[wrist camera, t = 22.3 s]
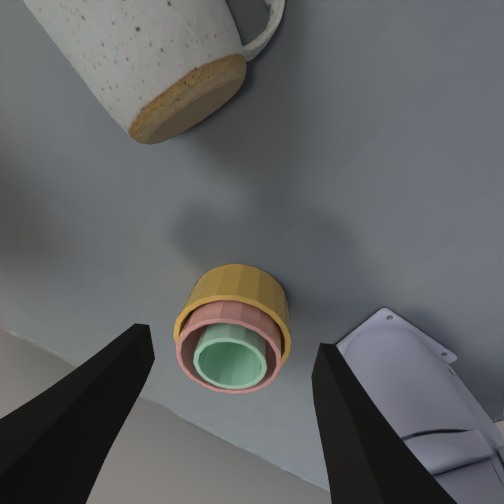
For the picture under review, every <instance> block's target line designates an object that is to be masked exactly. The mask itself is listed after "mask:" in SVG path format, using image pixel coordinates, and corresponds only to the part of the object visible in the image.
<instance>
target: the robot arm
mask: <svg viewBox="0 0 504 504" xmlns="http://www.w3.org/2000/svg"><path fill="white" fill-rule="evenodd" d="M390 315H391V316H390ZM387 316H389V317H387ZM456 359H457V356H456V355H455V354H454V353H453V352H451V351H450V350H448V349H447V348H445V347H444V346H443V345H441V344H440V343H438V342H437V341H435V340H434V339H432V338H431V337H429V336H428V335H426V334H425V333H423V332H422V331H420V330H419V329H418V328H416V327H415V326H413V325H412V324H410V323H409V322H407V321H406V320H404V319H403V318H401V317H400V316H398V315H397V314H395V313H394V312H393V311H391V310H390V309H388V308H382V309H380V310H379V311H378V312H376V313H375V314H374V315H373V316H371V317H370V318H369V319H368V320H366V321H365V322H364V323H363V324H361V325H360V326H359V327H358V328H356V329H355V330H354V331H353V332H351V333H350V334H349V335H348V336H346V337H345V338H344V339H343V340H341V341H340V342H339V343H338V344H336V345H334V344H325V343H320V346H319V349H318V353H317V357H316V361H315V365H314V369H313V372H312V388H313V398H314V406H315V411H316V417H317V422H318V427H319V432H320V437H321V442H322V447H323V452H324V458H325V463H326V468H327V473H328V479H329V485H330V493H331V501H332V504H504V440H503V437H502V435H501V433H500V431H499V430H498V428H497V427H496V425H495V424H494V423H493V421H492V420H491V419H490V417H489V416H488V415H487V413H486V412H485V411H484V410H483V408H482V407H481V406H480V404H479V403H478V402H477V400H476V399H475V398H474V396H473V395H472V394H471V393H470V391H469V390H468V389H467V387H466V386H465V385H464V383H463V382H462V381H461V379H460V378H459V377H458V376H457V374H456V373H455V372H454V370H453V369H452V368H451V366H450V365H449V364H451V363H452V362H454V361H455V360H456ZM154 360H155V356H154V350H153V345H152V339H151V333H150V328H149V325H145V324H136V323H135V324H134V325H132V326H131V327H130V328H129V329H127V330H126V331H125V332H123V333H122V334H121V335H120V336H118V337H117V338H116V339H115V340H113V341H112V342H111V343H109V344H108V345H107V346H106V347H104V348H103V349H102V350H100V351H99V352H98V353H97V354H95V355H94V356H93V357H91V358H90V359H89V360H87V361H86V362H85V363H83V364H82V365H81V366H79V367H78V368H77V369H75V370H74V371H72V372H71V373H70V374H68V375H67V376H65V377H64V378H63V379H61V380H60V381H58V382H57V383H56V384H54V385H53V386H52V387H50V388H48V389H47V390H46V391H44V392H43V393H41V394H39V395H38V396H37V397H35V398H33V399H32V400H31V401H29V402H27V403H26V404H24V405H22V406H21V407H19V408H18V409H16V410H14V411H13V412H11V413H10V414H8V415H6V416H5V417H3V418H1V419H0V504H86V502H87V499H88V497H89V495H90V492H91V489H92V488H93V485H94V483H95V481H96V479H97V476H98V474H99V472H100V470H101V467H102V465H103V463H104V460H105V458H106V456H107V454H108V452H109V450H110V448H111V446H112V444H113V442H114V440H115V438H116V437H117V435H118V433H119V431H120V429H121V427H122V426H123V424H124V422H125V420H126V418H127V416H128V414H129V413H130V411H131V409H132V407H133V405H134V403H135V401H136V399H137V398H138V396H139V394H140V392H141V390H142V388H143V386H144V384H145V382H146V380H147V377H148V375H149V373H150V370H151V367H152V365H153V362H154Z"/></svg>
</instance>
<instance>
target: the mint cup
mask: <svg viewBox="0 0 504 504" xmlns="http://www.w3.org/2000/svg"><path fill="white" fill-rule="evenodd" d="M267 354H268V341H267V340H266V339H265V338H264V337H262V336H261V335H260V334H258V333H257V332H256V331H254V330H251V329H249V328H246V327H244V326H241V325H239V324H230V323H221V322H219V323H213V324H207V325H204V328H203V331H202V334H201V336H200V339H199V342H198V345H197V347H196V350H195V354H194V360H193V363H194V365H195V368H196V370H197V372H198V373H199V374H200V375H201V376H202V377H203V378H204V379H205V380H206V381H208V382H210V383H212V384H214V385H216V386H219V387H223V388H228V389H244V388H247V387H250V386H253V385H255V384H257V383H258V382H259V381H260V380H261V379H263V377H264V375H265V373H266V370H267Z"/></svg>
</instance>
